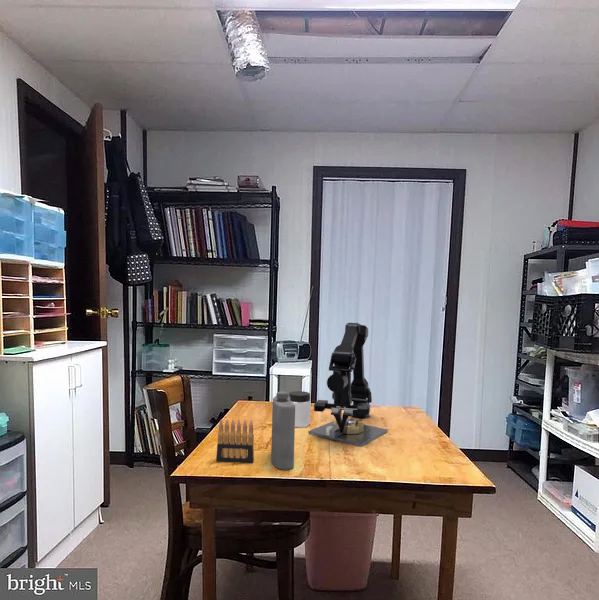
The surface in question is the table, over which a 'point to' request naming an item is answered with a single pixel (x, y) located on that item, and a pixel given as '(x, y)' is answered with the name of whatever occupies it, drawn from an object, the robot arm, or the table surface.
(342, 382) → the robot arm
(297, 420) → the jar
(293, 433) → the flask
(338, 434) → the ring nut
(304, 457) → the table surface
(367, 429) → the cap plate
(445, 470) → the table surface
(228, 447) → the ammunition clip
